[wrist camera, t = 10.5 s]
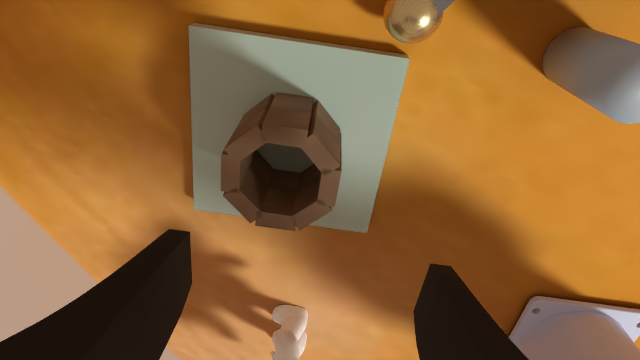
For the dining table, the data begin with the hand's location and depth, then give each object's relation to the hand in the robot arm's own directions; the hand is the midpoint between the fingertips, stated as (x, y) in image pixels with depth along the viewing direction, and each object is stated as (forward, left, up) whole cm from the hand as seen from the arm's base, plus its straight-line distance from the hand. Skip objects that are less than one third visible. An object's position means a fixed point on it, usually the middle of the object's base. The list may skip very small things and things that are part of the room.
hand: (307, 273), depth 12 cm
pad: (0, +2, -10) cm, 10 cm away
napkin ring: (0, +2, -10) cm, 10 cm away
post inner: (+6, -11, -10) cm, 16 cm away
